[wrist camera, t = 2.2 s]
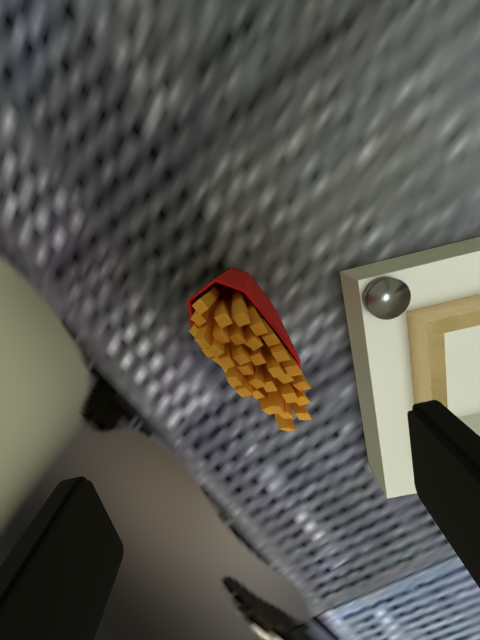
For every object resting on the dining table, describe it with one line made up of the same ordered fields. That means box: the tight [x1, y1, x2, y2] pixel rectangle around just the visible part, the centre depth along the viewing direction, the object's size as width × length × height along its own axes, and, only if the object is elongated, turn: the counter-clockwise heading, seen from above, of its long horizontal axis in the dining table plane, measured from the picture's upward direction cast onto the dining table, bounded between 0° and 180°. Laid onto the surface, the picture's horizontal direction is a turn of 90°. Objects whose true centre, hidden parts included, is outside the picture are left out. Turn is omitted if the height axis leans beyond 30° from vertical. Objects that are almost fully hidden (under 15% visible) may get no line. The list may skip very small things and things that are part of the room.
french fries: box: [187, 268, 312, 432], centre depth 19 cm, size 8×4×12 cm, turn 37°
